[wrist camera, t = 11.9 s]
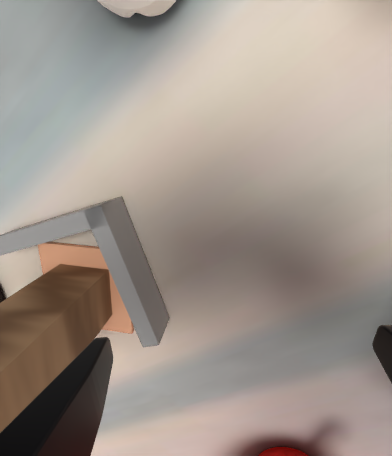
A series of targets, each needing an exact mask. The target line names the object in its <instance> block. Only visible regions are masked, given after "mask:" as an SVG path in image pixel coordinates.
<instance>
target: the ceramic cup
mask: <svg viewBox="0 0 392 456" xmlns="http://www.w3.org/2000/svg"><path fill="white" fill-rule="evenodd" d="M259 456H308V455H307V454H305V453H304V452H302V451H299V450H297V449H293V448H289V447H274V448H270V449H267V450H265V451H263V452H262V453H260V454H259Z"/></svg>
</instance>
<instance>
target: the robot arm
mask: <svg viewBox="0 0 392 456" xmlns="http://www.w3.org/2000/svg"><path fill="white" fill-rule="evenodd" d="M373 349H374V351H375V353H376V355H377V357H378V359H379V361H380V363H381V364H382V366H383V368H384V370H385V372H386V374H387V375H388V377H389V379H390V381H391V383H392V325H381V326H379V327H378V329H377V332H376V335H375V338H374V341H373ZM112 364H113V353H112V348H111V344H110V340H109V338H107V337H103V338H96V339H94V340H93V341H92V342H91V343H90V344H89V345H88V346H87V347H86V348H85V349H84V350H83V351H82V352H81V353H80V354H79V355H78V356H77V357H76V358H75V359H74V360H73V361H72V362H71V363H70V364H69V365H68V366H67V367H66V368H65V369H64V370H63V371H62V372H61V373H60V374H59V375H58V376H57V377H56V378H55V379H54V380H53V381H52V382H51V383H50V384H49V385H48V386H47V387H46V388H45V389H44V390H43V391H42V392H41V393H40V394H39V395H38V396H37V397H36V398H35V399H34V400H33V401H32V402H31V403H30V404H29V405H28V406H27V407H26V408H25V409H24V410H23V411H22V412H21V413H20V414H19V415H18V416H17V417H16V418H15V419H14V420H13V421H12V422H11V423H10V424H9V425H8V426H7V427H6V428H5V429H4V430H3V431H2V432H1V433H0V456H90V455H91V452H92V449H93V445H94V442H95V438H96V435H97V432H98V428H99V425H100V421H101V418H102V414H103V409H104V405H105V400H106V394H107V389H108V384H109V379H110V374H111V369H112Z"/></svg>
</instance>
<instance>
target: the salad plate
mask: <svg viewBox="0 0 392 456" xmlns="http://www.w3.org/2000/svg"><path fill="white" fill-rule="evenodd" d="M2 301H4V298H3V294H2V292H1V289H0V303H1V302H2Z"/></svg>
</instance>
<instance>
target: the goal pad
mask: <svg viewBox="0 0 392 456" xmlns="http://www.w3.org/2000/svg"><path fill="white" fill-rule="evenodd" d="M38 248H39V254H40V260H41V266H42V272H43V275H44V274H45V273H47V272H48V271H50V270H51V269H53V268H54V267H56V266H58V265H59V264H66V265H74V266H82V267H91V268H99V269H108V267H107V264H106V262H105V260H104V258H103V255H102V253H101V251H100V248H99V247H93V246H84V245H74V244H64V243H55V242H46V243H42V244H39V245H38ZM108 270H109V269H108ZM109 277H110V290H111V303H112V316H111V317H110V318H109V320H108V321H107V322H106V324H105V325H104V326H103V328H102V329H104V330H110V331H117V332H123V333H130V334H132V333H133V323H132V321H131V319H130V317H129V314H128V312H127V310H126V308H125V305H124V303H123V301H122V298H121V296H120V294H119V292H118V289H117V287H116V285H115V283H114V280H113V278H112V276H111V273H110V271H109Z"/></svg>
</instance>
